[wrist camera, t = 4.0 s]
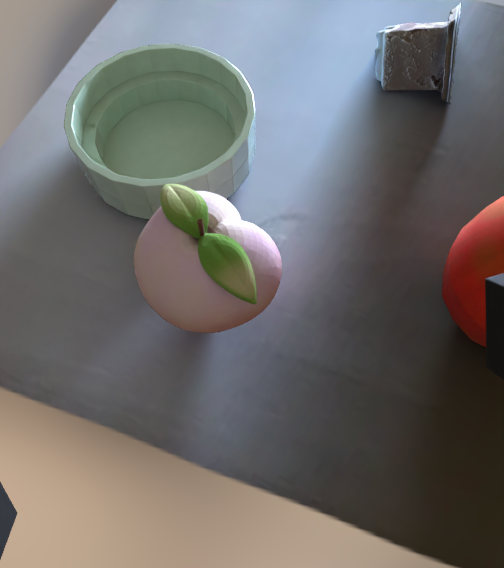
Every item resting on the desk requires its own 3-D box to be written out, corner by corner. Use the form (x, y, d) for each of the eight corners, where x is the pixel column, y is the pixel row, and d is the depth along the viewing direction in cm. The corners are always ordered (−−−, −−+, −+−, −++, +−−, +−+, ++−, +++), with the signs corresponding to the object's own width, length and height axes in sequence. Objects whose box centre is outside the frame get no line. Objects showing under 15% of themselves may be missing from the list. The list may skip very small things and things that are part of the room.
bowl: (60, 205, 36) (32, 164, 31) (122, 81, 41) (106, 31, 37) (230, 240, 34) (226, 203, 30) (270, 107, 40) (272, 59, 35)
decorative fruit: (127, 292, 32) (78, 218, 23) (209, 224, 35) (193, 133, 26) (215, 382, 30) (197, 338, 21) (297, 302, 32) (314, 230, 23)
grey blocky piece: (387, 14, 46) (370, -25, 35) (462, 6, 43) (468, -39, 32) (380, 113, 48) (362, 104, 38) (450, 111, 46) (451, 101, 35)
